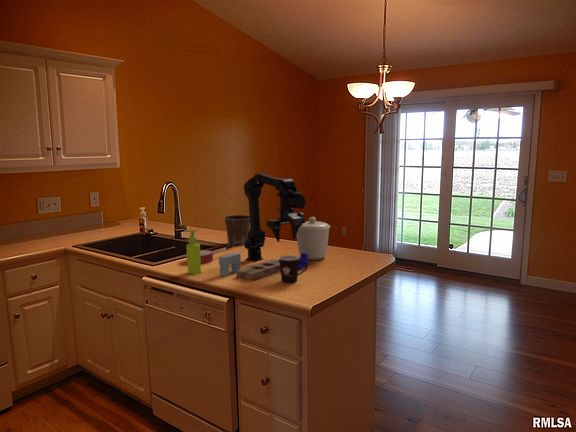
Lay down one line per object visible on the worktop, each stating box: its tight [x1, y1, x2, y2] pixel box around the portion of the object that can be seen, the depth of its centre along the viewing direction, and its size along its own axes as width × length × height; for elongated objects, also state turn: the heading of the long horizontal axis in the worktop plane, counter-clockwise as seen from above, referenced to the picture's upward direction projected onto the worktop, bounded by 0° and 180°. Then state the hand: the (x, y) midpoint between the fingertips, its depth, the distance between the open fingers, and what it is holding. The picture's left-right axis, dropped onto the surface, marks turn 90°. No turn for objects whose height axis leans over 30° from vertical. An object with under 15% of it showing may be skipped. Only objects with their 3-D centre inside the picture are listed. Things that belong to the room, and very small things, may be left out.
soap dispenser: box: [182, 228, 202, 275], centre depth 197 cm, size 6×7×20 cm
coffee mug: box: [278, 255, 309, 284], centre depth 182 cm, size 12×9×10 cm
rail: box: [235, 258, 281, 282], centre depth 197 cm, size 10×24×3 cm, turn 141°
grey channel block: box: [218, 252, 242, 278], centre depth 196 cm, size 3×10×8 cm, turn 141°
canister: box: [296, 216, 331, 261], centre depth 221 cm, size 18×18×21 cm
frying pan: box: [200, 241, 241, 265], centre depth 227 cm, size 32×13×6 cm, turn 140°
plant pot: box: [223, 214, 250, 246], centre depth 258 cm, size 16×16×16 cm
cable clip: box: [298, 253, 309, 272], centre depth 203 cm, size 12×4×6 cm, turn 141°
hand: (286, 240), depth 200 cm, fingers open, 9 cm apart
